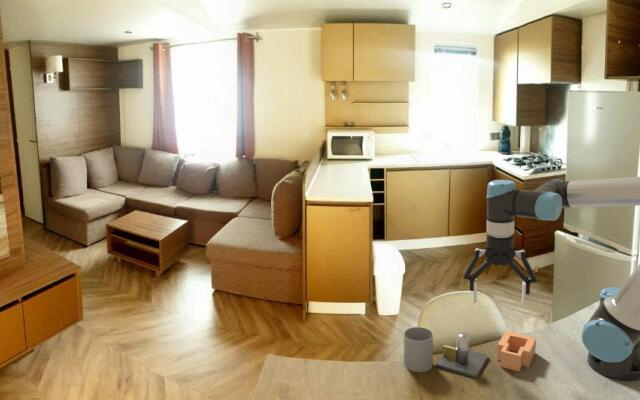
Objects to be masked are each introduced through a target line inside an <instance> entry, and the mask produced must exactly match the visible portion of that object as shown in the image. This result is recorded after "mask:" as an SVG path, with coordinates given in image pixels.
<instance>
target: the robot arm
mask: <svg viewBox="0 0 640 400" xmlns="http://www.w3.org/2000/svg"><path fill="white" fill-rule="evenodd" d="M485 198H486V233H487V234H486V238H485V239H486V242H485V243H486V244H485V245H486V248H485V249H481V248H479V247H476V248H475V251H474V256H473V257H472V258H471V260H470V263H469V264H468V265H467V268H466V269H465V271H464V273H463V279H464V280H468V281H469V290H470V292H473V304H476V303H477V301H478V300H477V298H478V294H477V291H478V289H477V288H478V287H477V286H478V285H477V283H478V280H477V278H479V277H480V275H481V274H482V273H483V272H484V271H485V270H486V269H487V268H489V267H490V266H491V265H493V266H503V267H504V266H505V267H506V266H507V265H508V266H509V267H510V268H511V269H512V270H513V271H514V272H515V273H516V274H517V276H518V277H520V279H521V280H522V285H521V286H522V289H521V293H522V294H521V305H522V307H525V306H526V295H530V294H531V293H530V292H531V284H533V283H534V284H535V283H537V282H538V279H537V276H536V274H535V272H534V271H533V269H532V266H531V264H530V263H529V260H528V259H527V255H526V250H525V249H524V248H522V249H520V250H515V249H514V248H515V247H514V246H515V235H514V234H515V217H520V218H527V219H535V220H540V221H557V220H558V219H559V218H560V215H561V213H562V209H565V208H587V207H588V208H590V207H591V208H592V207H594V208H596V207H597V208H598V207H629V206H631V207H632V206H635V207H636V206H640V176H631V177H627V176H626V177H616V178H615V177H613V178H611V177H610V178H597V179H596V178H595V179H581V180H580V179H579V180H563V179H562V180H561V179H552V180H548V181H546V182H545V183H543V184H542V185H541V186H539V187H537V188H536V189H534V190H530V189H529V190H527V189H526V190H525V189H518V188H517V187H516V183H515V181H513V180H509V179H494V180H491V181H489V182H488V183H487V191H486V197H485ZM483 255H484V256H485V257H486V259H485V260H484V261H483V262H482V263H481V265H479V266H478V267H477V268H476V269H475V270H474V268H475V267H476V264H477V262H478V261H479V258H480V257H482V256H483ZM516 256H517V257H518V259H521V262H522V264H523V266H524V268H525V270H526V271H527V273H525V272H524V271H523V270H522V268H521V267H520V266H519V265H518V264H517V263H516V262H515V260H514V258H515V257H516ZM473 270H474V271H473ZM472 271H473V273H472ZM527 274H528V276H527ZM598 296H599V304H598V307H596V309H595V311H594V313H593V314H592V315H591V317H590V318H589V319H588V321H587V322H586V323H585V324H584V325H583V327H582V331H581V341H582V343H583V345H584V347H585V349H586V350H587V351H588V352H587V359H586V360H587V363H588V366H589V367H590V368H591V369H593V370H594V371H596V372H597V373H599V374H601V375H603V376H605V377H608V378H611V379H615V380H619V381H636V380H640V263H639V264H638V265H637V267H636V269H634V271H633V272H632V274H631V275H630V276H629V278H628V279H627V280H626V281H625V283H624V284H623V286H622V287H616V286H615V287H613V286H610V287H605V288H603V289H602V290H600V295H598Z"/></svg>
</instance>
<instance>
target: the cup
mask: <svg viewBox="0 0 640 400" xmlns="http://www.w3.org/2000/svg"><path fill="white" fill-rule="evenodd" d="M433 361H434V333H433V332H432V330H430V329H428V328H426V327H421V326H416V327H415V326H413V327H409V328H407V329H406V330H404V332H403V363H404V364H403V366H404V367H405V368H406V369H407V370H409V371H411V372H415V373H425V372H428V371H430V370H431V369H432V368H433V365H434V362H433Z"/></svg>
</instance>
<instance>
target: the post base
mask: <svg viewBox="0 0 640 400" xmlns="http://www.w3.org/2000/svg"><path fill="white" fill-rule="evenodd" d="M469 346H470V335H469V333H467V332H464V331H463V332H462V331H461V332H457V333H456V346H454V345H446V344H444V345H443V346H442V355H441V356H440V358H439V359H438V360H437V362H436V363H435V368H437V369H442V370H444V371H450V372H453V373H456V374H460V375H463V376H467V377H469V378H470V377H472V378H474V379H477V377H478V376H479V374H480V372H482V369H483V368H484V366H485V364H486V362H487V361H488V360H489V354H486V353H481V352H479V351H473V350H470V349H469V348H470V347H469Z"/></svg>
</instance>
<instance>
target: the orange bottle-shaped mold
mask: <svg viewBox="0 0 640 400" xmlns="http://www.w3.org/2000/svg"><path fill="white" fill-rule="evenodd" d="M536 346H537V337H533V336H528V335H525V334H519V333H516V332H511V331H506V330H505V332H503V334H502V337H501V338H500V339H499V342H498V343H497V353H496V355H497V356H496V357H497V358H496V359H497V360H499V361H500V362H499V367H500V368H504V369H509V370H510V371H511V370H513V371H515V370H516V372H521V370H520V369H522V368H523V367H526V366H527V367H526V368H530V365H531V363H532V362H533V359H534V357H535V354H536ZM533 356H534V357H533ZM532 358H533V359H532ZM522 365H523V366H522ZM521 367H522V368H521Z"/></svg>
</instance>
